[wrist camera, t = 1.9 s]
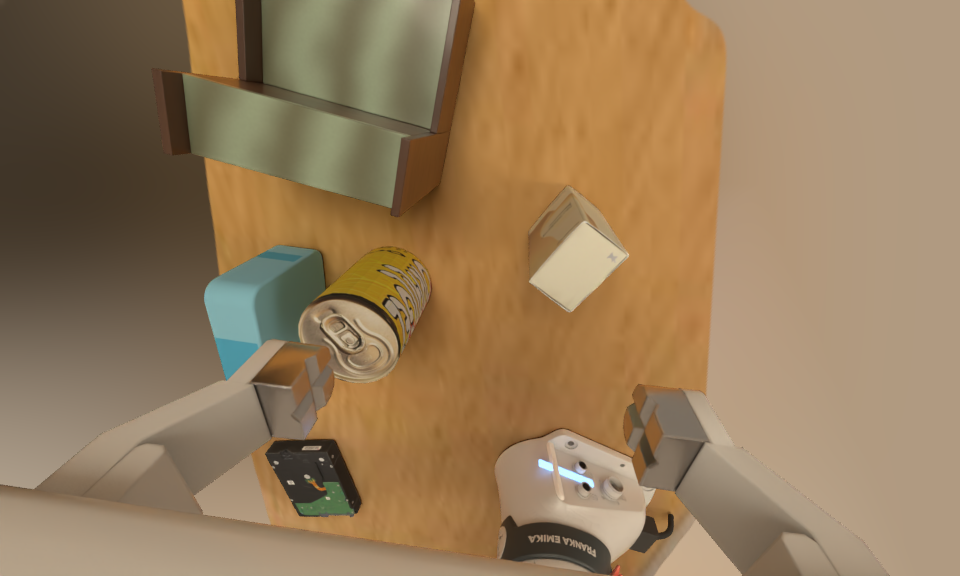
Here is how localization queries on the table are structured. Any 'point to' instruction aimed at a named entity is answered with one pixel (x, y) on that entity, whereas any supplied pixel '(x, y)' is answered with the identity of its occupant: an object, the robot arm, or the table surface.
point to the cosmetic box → (572, 250)
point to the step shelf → (329, 96)
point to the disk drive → (314, 477)
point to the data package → (262, 301)
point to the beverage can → (368, 314)
